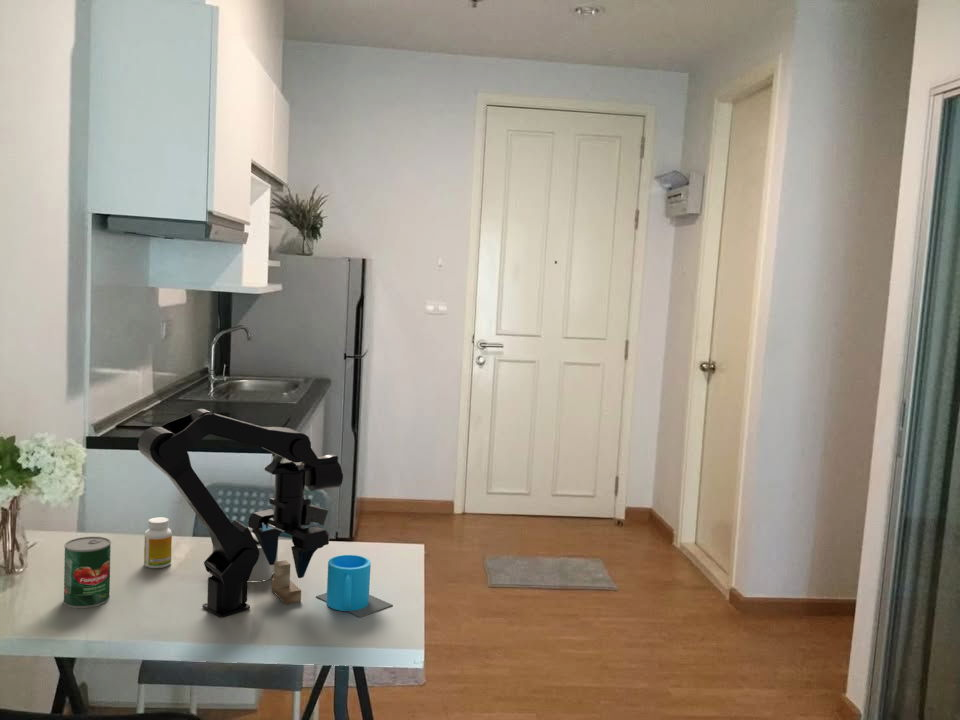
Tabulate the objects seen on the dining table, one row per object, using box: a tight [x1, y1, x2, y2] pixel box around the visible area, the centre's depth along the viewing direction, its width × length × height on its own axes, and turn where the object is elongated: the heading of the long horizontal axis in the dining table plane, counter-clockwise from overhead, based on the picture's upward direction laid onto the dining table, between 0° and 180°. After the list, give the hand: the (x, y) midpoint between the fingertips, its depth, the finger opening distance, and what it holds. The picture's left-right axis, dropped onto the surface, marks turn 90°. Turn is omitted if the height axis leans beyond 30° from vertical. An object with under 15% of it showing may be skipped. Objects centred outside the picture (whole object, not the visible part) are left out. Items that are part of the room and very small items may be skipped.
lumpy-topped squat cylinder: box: [211, 527, 279, 582], centre depth 176 cm, size 10×13×9 cm
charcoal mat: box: [315, 592, 393, 618], centre depth 165 cm, size 8×13×1 cm, turn 49°
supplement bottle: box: [143, 516, 173, 569], centre depth 178 cm, size 5×5×10 cm
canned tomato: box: [63, 536, 112, 609], centre depth 157 cm, size 8×8×11 cm
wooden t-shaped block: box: [271, 559, 302, 605], centre depth 165 cm, size 4×8×7 cm, turn 34°
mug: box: [325, 554, 372, 612], centre depth 161 cm, size 12×8×8 cm
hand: (286, 571), depth 165 cm, fingers open, 9 cm apart
